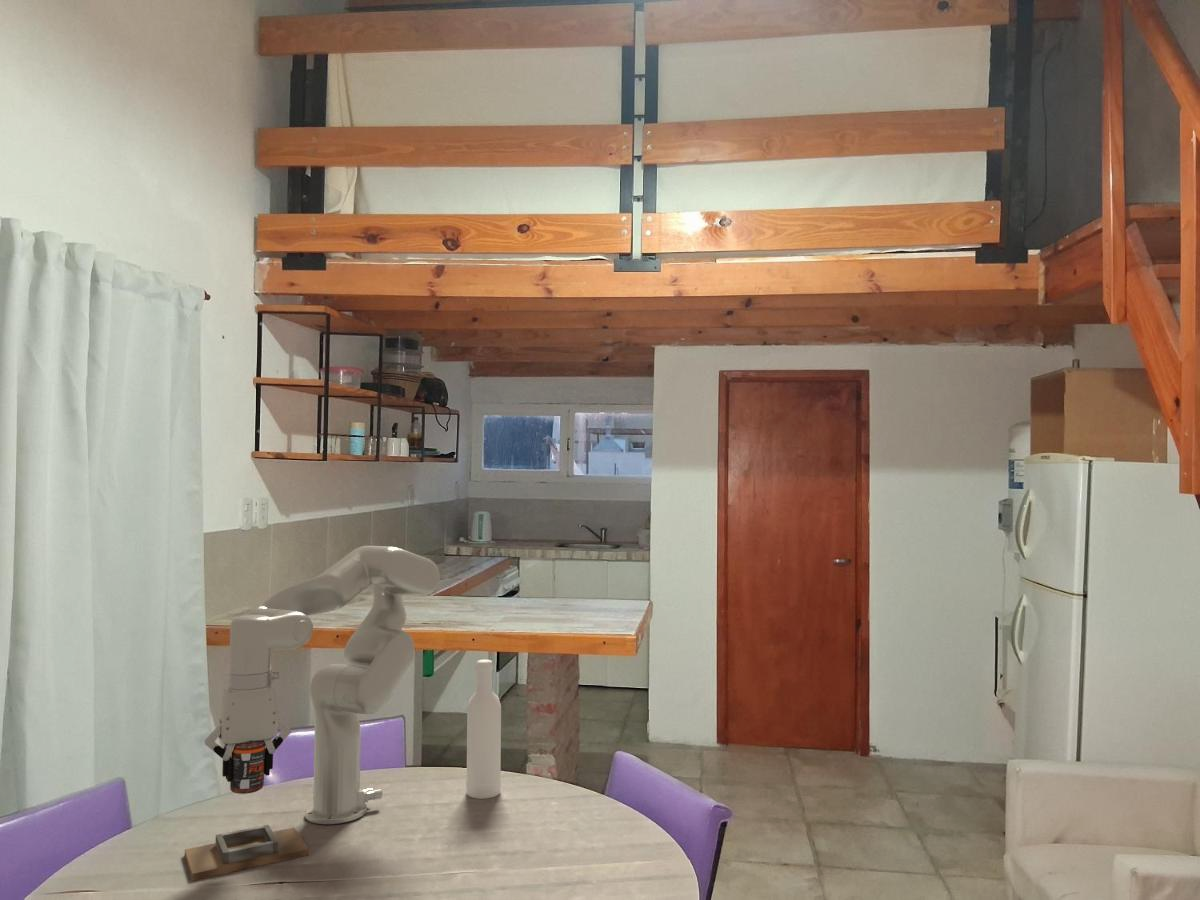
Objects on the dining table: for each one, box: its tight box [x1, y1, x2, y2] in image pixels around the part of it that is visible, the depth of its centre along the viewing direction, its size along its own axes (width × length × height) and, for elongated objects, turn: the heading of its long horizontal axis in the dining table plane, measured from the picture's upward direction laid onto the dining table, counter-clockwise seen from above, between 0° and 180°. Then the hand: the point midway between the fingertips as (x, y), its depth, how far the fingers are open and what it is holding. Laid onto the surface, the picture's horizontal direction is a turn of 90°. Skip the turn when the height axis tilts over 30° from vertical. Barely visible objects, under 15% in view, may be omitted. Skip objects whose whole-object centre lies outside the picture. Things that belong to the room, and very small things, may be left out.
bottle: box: [465, 659, 502, 800], centre depth 195 cm, size 8×8×30 cm
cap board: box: [184, 824, 309, 881], centre depth 161 cm, size 20×12×3 cm, turn 122°
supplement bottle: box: [229, 740, 266, 795], centre depth 161 cm, size 6×6×11 cm
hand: (247, 775), depth 161 cm, fingers closed on supplement bottle, 6 cm apart
